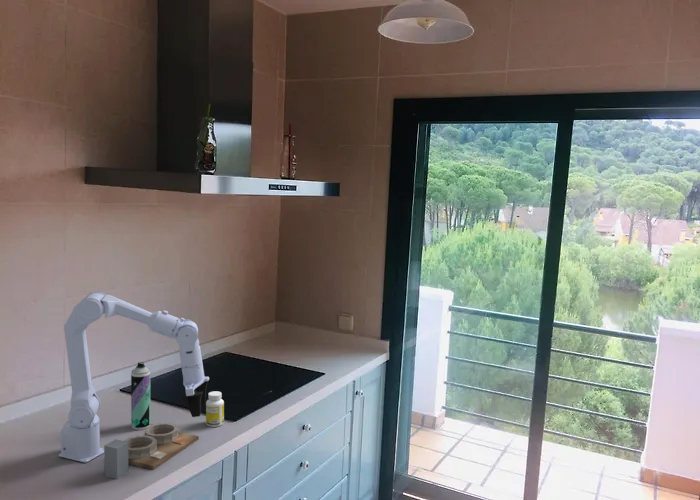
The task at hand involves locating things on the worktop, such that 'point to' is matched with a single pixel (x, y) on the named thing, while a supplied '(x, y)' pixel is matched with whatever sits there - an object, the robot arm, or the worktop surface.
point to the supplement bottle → (214, 409)
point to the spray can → (140, 397)
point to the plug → (116, 459)
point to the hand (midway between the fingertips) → (198, 410)
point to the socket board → (157, 445)
